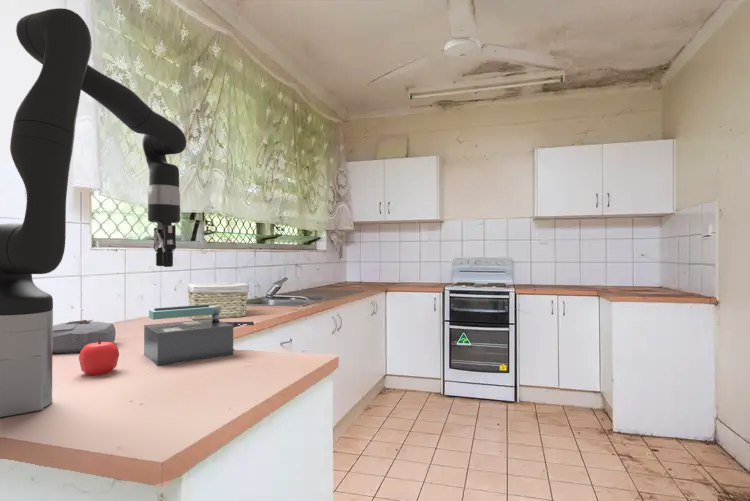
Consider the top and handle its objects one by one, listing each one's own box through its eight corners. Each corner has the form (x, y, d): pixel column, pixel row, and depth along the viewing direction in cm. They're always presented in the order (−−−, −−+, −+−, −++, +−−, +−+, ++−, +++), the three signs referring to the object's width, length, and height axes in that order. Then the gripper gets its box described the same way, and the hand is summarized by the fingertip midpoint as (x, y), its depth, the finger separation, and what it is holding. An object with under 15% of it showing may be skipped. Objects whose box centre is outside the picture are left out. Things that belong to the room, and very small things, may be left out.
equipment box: (233, 354, 119) (233, 317, 119) (157, 365, 107) (157, 324, 107) (213, 345, 131) (213, 311, 131) (144, 354, 119) (144, 316, 119)
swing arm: (217, 311, 128) (217, 303, 128) (223, 313, 124) (223, 304, 124) (149, 317, 117) (149, 307, 117) (153, 319, 113) (153, 309, 113)
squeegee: (203, 333, 154) (203, 325, 154) (216, 325, 169) (216, 318, 169) (243, 333, 155) (243, 325, 155) (253, 325, 170) (253, 318, 170)
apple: (99, 378, 96) (100, 342, 96) (69, 376, 98) (70, 341, 98) (127, 369, 104) (127, 336, 104) (98, 367, 105) (99, 334, 105)
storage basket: (241, 312, 203) (241, 281, 203) (250, 317, 189) (250, 283, 189) (186, 316, 191) (186, 283, 191) (191, 321, 177) (191, 285, 177)
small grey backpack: (119, 341, 137) (42, 346, 129) (119, 315, 137) (42, 318, 129) (108, 352, 122) (22, 358, 115) (109, 322, 123) (22, 326, 115)
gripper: (186, 202, 109) (186, 267, 108) (173, 207, 120) (173, 265, 120) (153, 200, 104) (153, 267, 104) (143, 205, 115) (143, 266, 115)
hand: (164, 266), depth 112 cm, fingers open, 8 cm apart
